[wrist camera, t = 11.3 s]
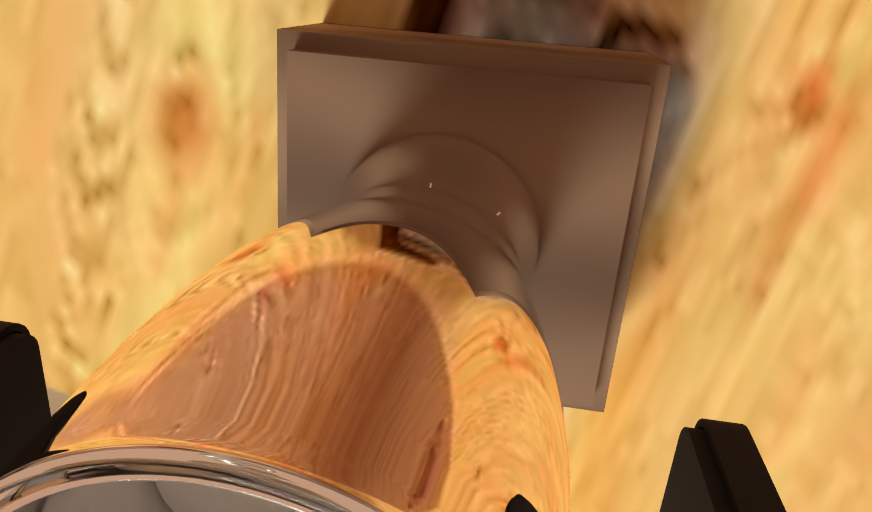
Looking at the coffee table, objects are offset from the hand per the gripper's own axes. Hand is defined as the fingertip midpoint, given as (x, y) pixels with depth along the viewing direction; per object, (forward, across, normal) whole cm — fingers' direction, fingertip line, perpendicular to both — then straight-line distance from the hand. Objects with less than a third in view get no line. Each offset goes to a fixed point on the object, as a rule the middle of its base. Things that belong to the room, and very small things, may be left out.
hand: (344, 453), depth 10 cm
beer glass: (+11, 0, +1) cm, 11 cm away
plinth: (+16, 0, +1) cm, 16 cm away
